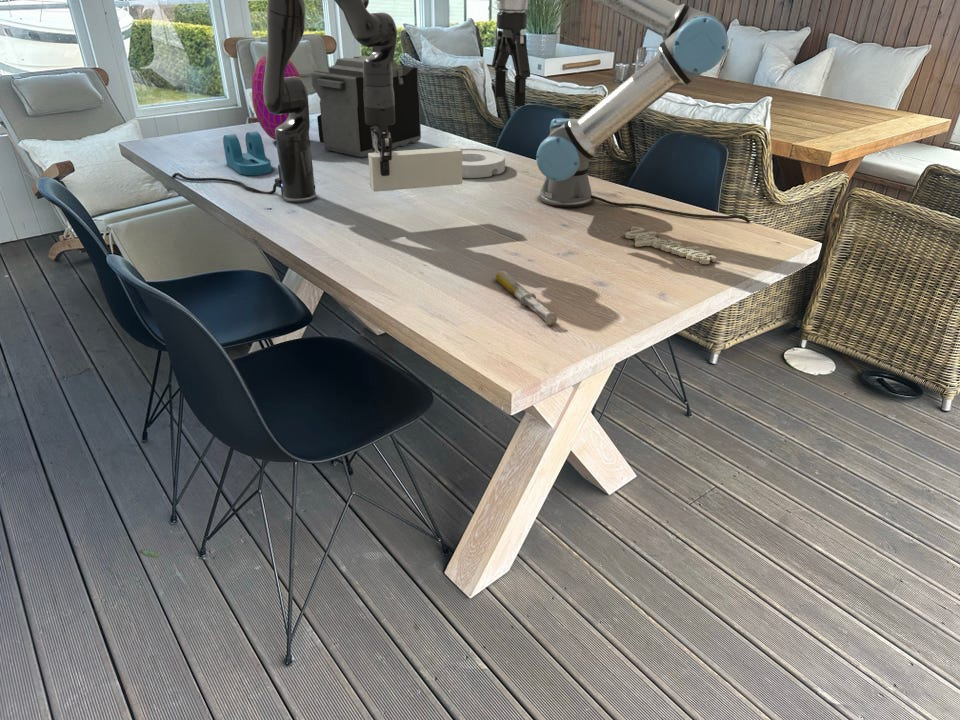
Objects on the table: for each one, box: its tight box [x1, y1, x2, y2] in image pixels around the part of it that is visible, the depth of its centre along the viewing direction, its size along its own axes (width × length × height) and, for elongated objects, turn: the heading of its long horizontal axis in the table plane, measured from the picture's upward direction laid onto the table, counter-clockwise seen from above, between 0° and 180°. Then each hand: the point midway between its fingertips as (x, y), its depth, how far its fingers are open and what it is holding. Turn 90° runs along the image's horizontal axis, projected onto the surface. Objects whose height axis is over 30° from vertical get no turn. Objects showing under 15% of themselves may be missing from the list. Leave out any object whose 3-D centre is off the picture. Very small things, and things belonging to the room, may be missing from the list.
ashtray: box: [459, 147, 506, 179], centre depth 231 cm, size 23×23×4 cm
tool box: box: [310, 55, 422, 159], centre depth 250 cm, size 37×22×30 cm, turn 144°
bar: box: [367, 146, 463, 193], centre depth 180 cm, size 24×4×9 cm, turn 110°
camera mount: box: [222, 131, 272, 176], centre depth 226 cm, size 18×10×10 cm, turn 35°
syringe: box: [495, 269, 558, 326], centre depth 143 cm, size 25×4×3 cm, turn 21°
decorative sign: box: [624, 226, 717, 265], centre depth 170 cm, size 26×1×10 cm
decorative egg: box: [251, 55, 302, 141], centre depth 257 cm, size 19×19×30 cm
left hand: (383, 172), depth 178 cm, fingers closed on bar, 4 cm apart
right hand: (509, 101), depth 181 cm, fingers open, 13 cm apart
